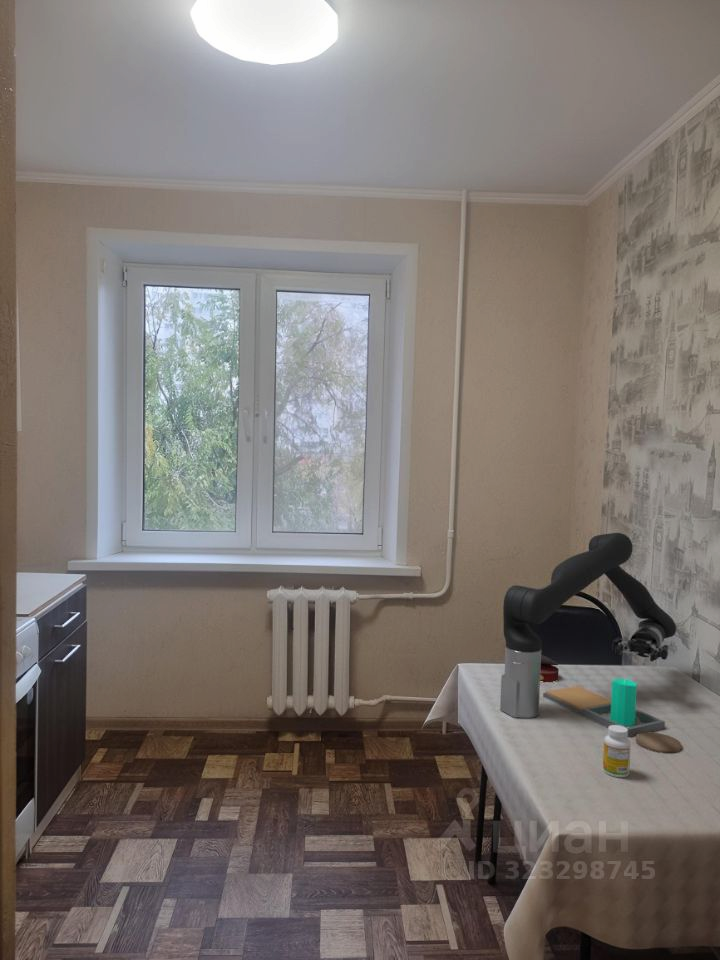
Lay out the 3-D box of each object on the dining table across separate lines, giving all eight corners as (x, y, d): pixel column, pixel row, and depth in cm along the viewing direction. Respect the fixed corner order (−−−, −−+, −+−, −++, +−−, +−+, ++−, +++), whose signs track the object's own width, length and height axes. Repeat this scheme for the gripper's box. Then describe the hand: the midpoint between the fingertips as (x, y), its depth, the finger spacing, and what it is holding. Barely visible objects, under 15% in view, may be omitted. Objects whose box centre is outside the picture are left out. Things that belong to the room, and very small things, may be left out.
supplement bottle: (608, 764, 157) (610, 721, 157) (632, 771, 154) (634, 728, 153) (599, 772, 153) (601, 728, 153) (624, 780, 150) (626, 735, 149)
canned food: (523, 690, 218) (514, 658, 222) (552, 684, 221) (542, 652, 225) (540, 684, 208) (530, 650, 212) (569, 678, 211) (559, 645, 215)
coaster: (661, 756, 162) (661, 752, 162) (626, 739, 171) (626, 736, 171) (690, 748, 167) (690, 745, 167) (655, 732, 176) (655, 729, 176)
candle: (619, 727, 178) (621, 680, 178) (605, 718, 184) (607, 673, 184) (640, 725, 180) (642, 679, 180) (625, 716, 186) (627, 671, 185)
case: (627, 737, 173) (628, 729, 172) (543, 696, 199) (543, 690, 199) (664, 728, 179) (664, 721, 178) (577, 690, 205) (577, 684, 205)
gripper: (621, 624, 208) (608, 636, 195) (673, 631, 201) (663, 645, 187) (620, 649, 209) (607, 663, 195) (672, 657, 201) (662, 673, 187)
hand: (634, 654), depth 191 cm, fingers open, 8 cm apart
